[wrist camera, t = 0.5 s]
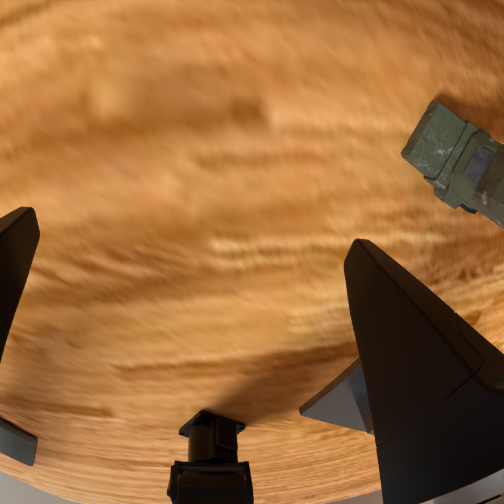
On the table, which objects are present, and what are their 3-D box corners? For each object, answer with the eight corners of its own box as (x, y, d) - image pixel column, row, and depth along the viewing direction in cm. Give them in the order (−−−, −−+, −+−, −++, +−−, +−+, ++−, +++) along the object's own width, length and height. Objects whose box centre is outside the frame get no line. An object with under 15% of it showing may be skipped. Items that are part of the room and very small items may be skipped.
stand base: (380, 430, 42) (393, 463, 36) (298, 408, 36) (308, 452, 30) (468, 355, 36) (491, 387, 30) (409, 308, 30) (439, 350, 24)
